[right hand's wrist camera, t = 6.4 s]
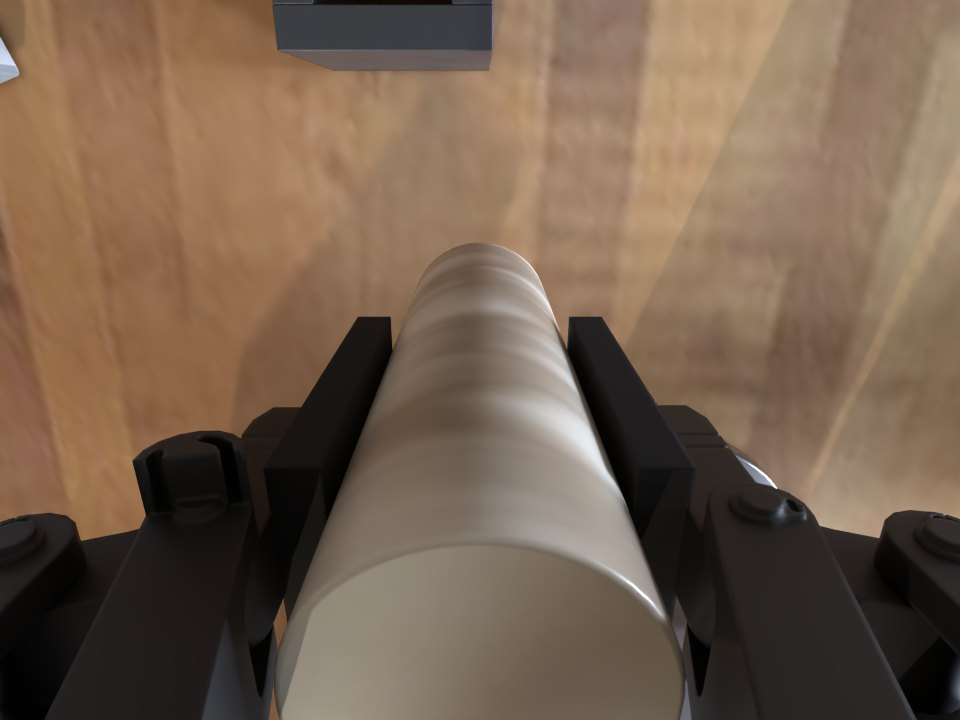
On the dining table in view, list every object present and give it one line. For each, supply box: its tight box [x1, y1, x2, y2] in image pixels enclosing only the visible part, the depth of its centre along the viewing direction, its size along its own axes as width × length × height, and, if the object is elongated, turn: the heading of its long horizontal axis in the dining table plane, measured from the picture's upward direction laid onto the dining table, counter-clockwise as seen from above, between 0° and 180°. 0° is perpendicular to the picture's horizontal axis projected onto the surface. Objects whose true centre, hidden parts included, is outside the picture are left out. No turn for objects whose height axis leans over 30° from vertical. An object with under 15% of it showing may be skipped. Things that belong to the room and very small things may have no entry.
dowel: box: [274, 243, 686, 720], centre depth 13 cm, size 4×4×14 cm
